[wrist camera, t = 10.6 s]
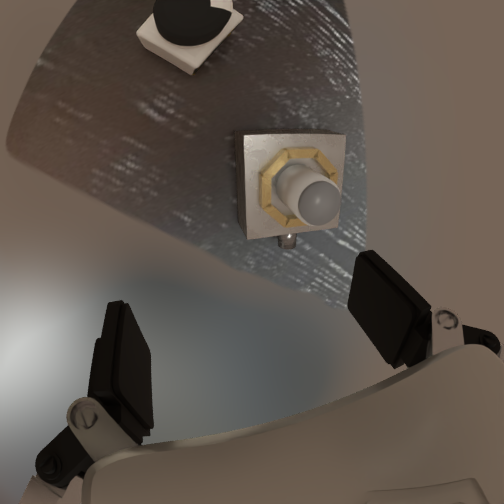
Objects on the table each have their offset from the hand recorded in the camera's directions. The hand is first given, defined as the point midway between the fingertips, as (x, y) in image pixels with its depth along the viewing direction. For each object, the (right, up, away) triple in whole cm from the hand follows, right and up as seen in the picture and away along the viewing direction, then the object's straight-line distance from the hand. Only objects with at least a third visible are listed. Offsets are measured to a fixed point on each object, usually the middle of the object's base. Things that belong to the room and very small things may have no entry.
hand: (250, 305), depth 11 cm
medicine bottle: (-7, +26, +13) cm, 30 cm away
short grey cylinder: (+5, +10, +20) cm, 23 cm away
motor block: (+4, +11, +25) cm, 28 cm away
